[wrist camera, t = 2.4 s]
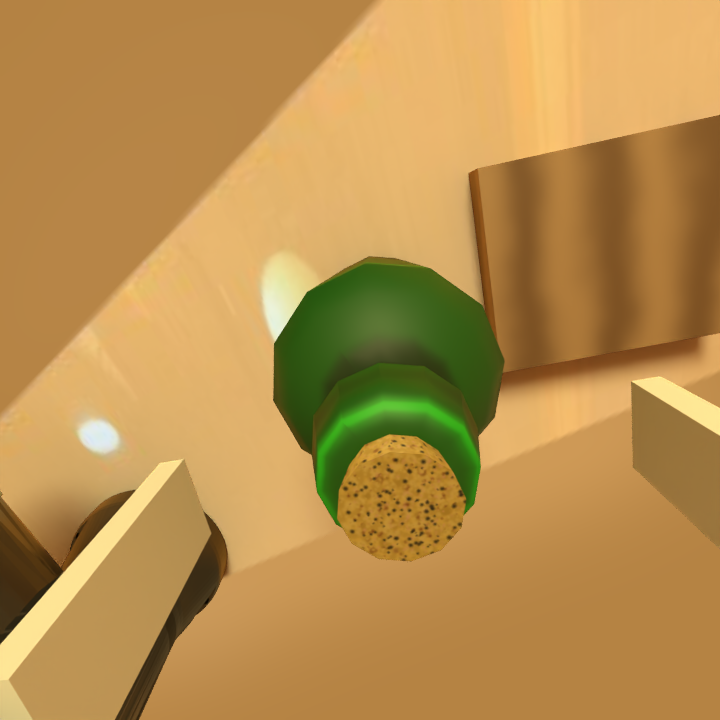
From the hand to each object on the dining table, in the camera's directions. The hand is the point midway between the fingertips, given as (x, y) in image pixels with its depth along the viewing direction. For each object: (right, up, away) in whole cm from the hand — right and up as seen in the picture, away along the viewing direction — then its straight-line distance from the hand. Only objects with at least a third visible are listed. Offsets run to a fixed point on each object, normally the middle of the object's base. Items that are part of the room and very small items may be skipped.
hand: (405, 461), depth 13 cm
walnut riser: (+18, +12, +23) cm, 31 cm away
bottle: (0, +8, +25) cm, 26 cm away
